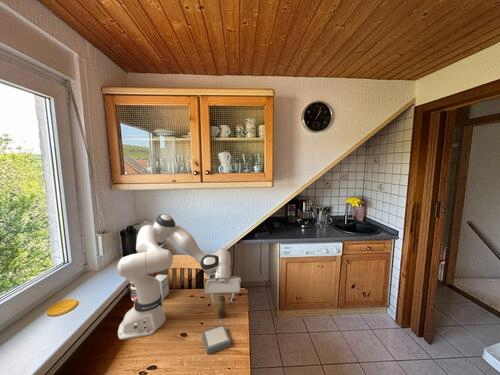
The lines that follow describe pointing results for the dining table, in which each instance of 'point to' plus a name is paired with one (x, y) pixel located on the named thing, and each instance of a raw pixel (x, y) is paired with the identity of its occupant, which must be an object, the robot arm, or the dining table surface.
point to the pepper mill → (221, 307)
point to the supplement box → (163, 285)
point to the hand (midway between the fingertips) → (222, 302)
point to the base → (216, 339)
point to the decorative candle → (133, 291)
